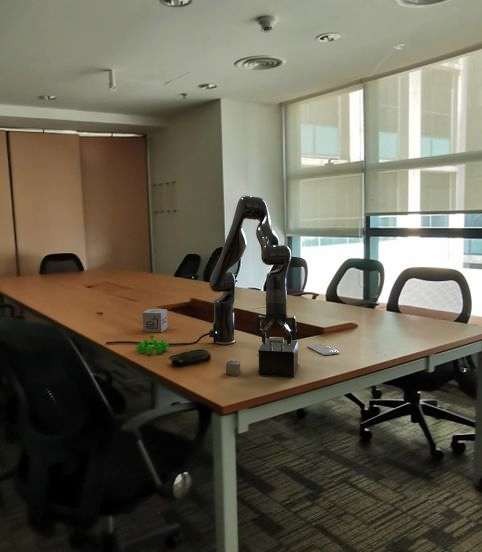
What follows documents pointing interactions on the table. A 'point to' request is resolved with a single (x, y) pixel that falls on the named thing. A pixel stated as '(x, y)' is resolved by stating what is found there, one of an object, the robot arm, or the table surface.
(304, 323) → the table surface
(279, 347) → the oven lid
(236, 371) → the steel block
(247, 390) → the table surface
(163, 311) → the icon cube
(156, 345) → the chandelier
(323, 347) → the mobile phone
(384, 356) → the table surface
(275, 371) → the black open box
